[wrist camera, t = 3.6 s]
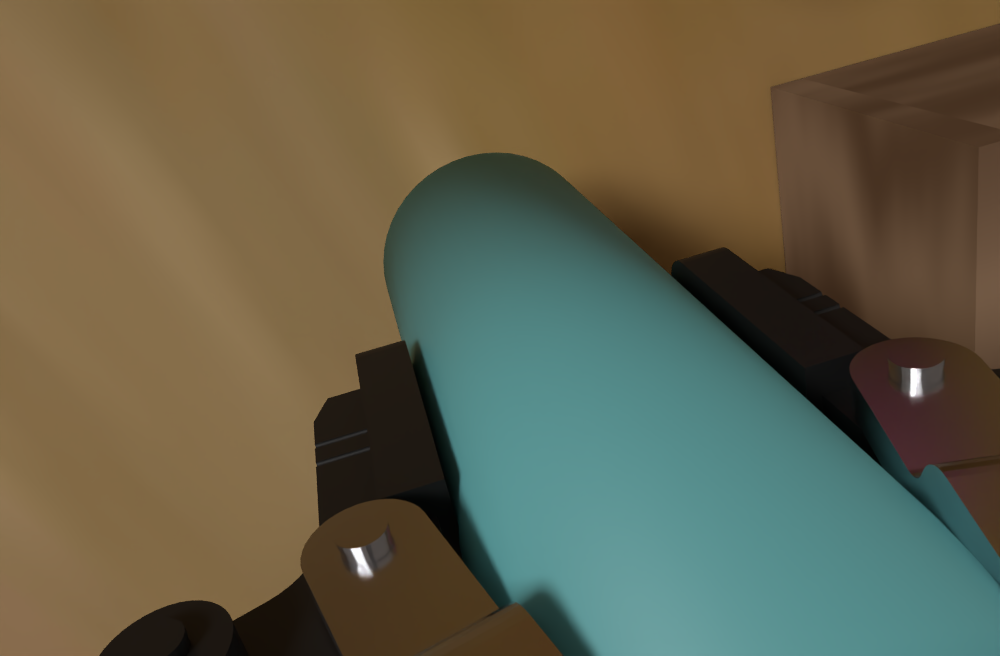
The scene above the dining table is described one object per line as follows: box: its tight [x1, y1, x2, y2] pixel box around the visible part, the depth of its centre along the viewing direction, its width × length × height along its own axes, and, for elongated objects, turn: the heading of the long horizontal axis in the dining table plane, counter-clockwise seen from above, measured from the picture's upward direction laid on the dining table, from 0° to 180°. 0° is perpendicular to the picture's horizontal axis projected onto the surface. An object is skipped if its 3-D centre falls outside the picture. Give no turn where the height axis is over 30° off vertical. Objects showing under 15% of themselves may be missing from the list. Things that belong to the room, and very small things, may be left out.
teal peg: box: [384, 153, 1000, 656], centre depth 11 cm, size 4×4×12 cm
